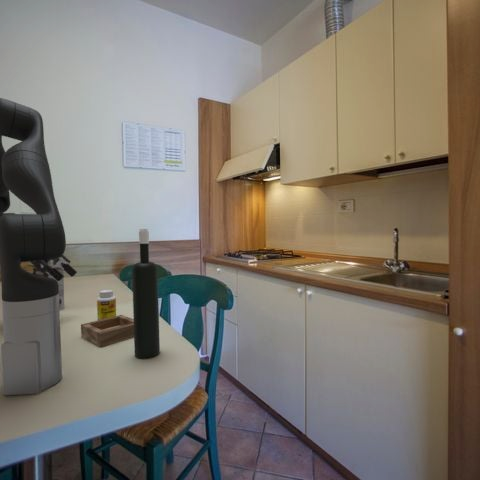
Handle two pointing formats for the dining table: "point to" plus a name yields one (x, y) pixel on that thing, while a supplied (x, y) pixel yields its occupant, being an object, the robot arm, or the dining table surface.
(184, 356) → the dining table surface
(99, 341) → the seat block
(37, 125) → the robot arm
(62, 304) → the coffee box
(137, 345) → the wine bottle
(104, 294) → the supplement bottle
